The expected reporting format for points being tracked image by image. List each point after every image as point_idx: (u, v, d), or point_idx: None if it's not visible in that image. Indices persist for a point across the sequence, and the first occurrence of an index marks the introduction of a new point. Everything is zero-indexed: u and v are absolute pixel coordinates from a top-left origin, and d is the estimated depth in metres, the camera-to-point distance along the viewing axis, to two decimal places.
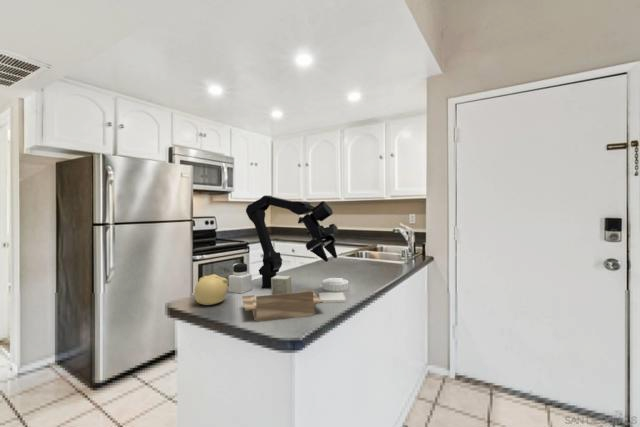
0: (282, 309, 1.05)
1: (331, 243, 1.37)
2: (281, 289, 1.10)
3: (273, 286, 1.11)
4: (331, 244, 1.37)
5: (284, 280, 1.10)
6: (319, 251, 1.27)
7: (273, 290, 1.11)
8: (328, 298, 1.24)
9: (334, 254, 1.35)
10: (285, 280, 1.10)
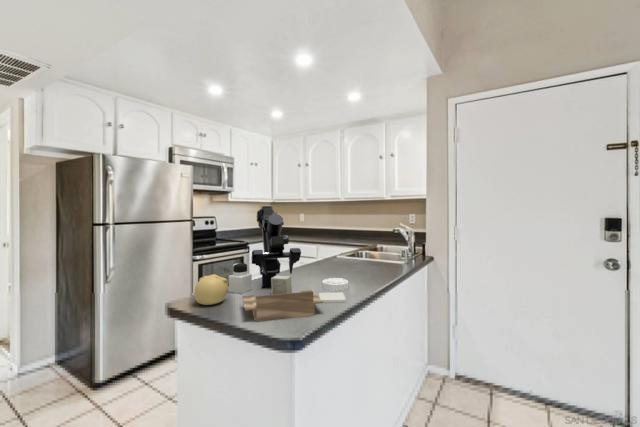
0: (282, 309, 1.05)
1: (290, 257, 1.22)
2: (281, 289, 1.10)
3: (273, 286, 1.11)
4: (290, 258, 1.22)
5: (284, 280, 1.10)
6: (262, 264, 1.19)
7: (273, 290, 1.11)
8: (328, 298, 1.24)
9: (290, 269, 1.20)
10: (285, 280, 1.10)
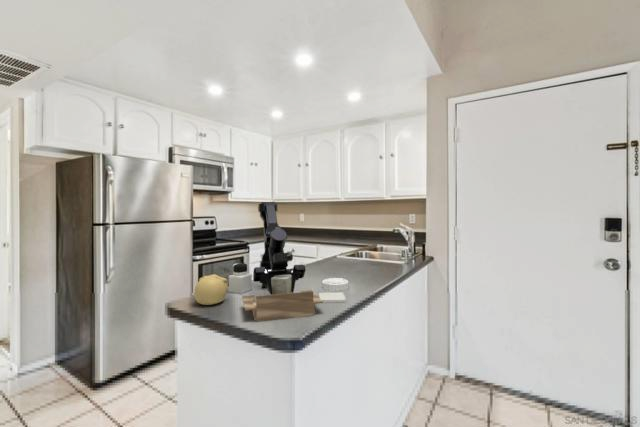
0: (282, 309, 1.05)
1: (292, 275, 1.16)
2: (281, 289, 1.10)
3: (273, 286, 1.11)
4: (292, 276, 1.16)
5: (284, 280, 1.10)
6: (266, 282, 1.13)
7: (273, 290, 1.11)
8: (328, 298, 1.24)
9: None
10: (285, 280, 1.10)
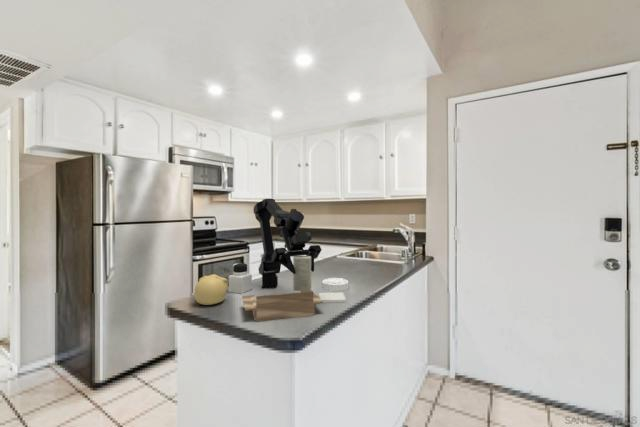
0: (282, 309, 1.05)
1: (309, 255, 1.19)
2: (304, 268, 1.13)
3: (295, 266, 1.14)
4: None
5: (307, 259, 1.13)
6: (287, 263, 1.15)
7: (295, 269, 1.14)
8: (328, 298, 1.24)
9: (311, 267, 1.17)
10: (308, 259, 1.13)
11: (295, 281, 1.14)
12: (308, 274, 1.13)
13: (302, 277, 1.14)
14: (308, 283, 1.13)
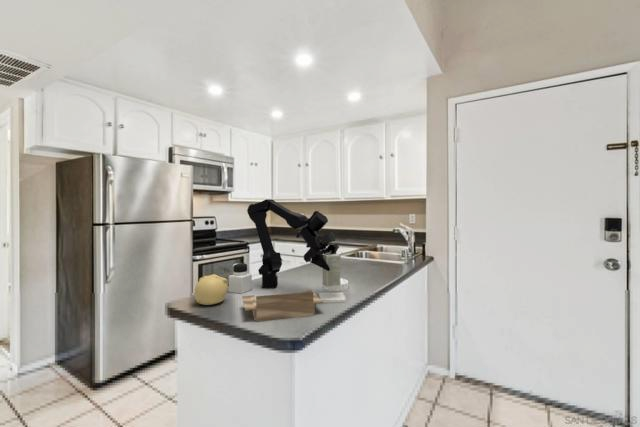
0: (282, 309, 1.05)
1: (332, 253, 1.31)
2: (335, 265, 1.25)
3: (328, 263, 1.24)
4: None
5: (338, 256, 1.25)
6: (319, 261, 1.23)
7: None
8: (328, 298, 1.24)
9: None
10: (339, 256, 1.25)
11: (328, 277, 1.24)
12: (339, 270, 1.25)
13: (334, 273, 1.25)
14: (339, 278, 1.25)
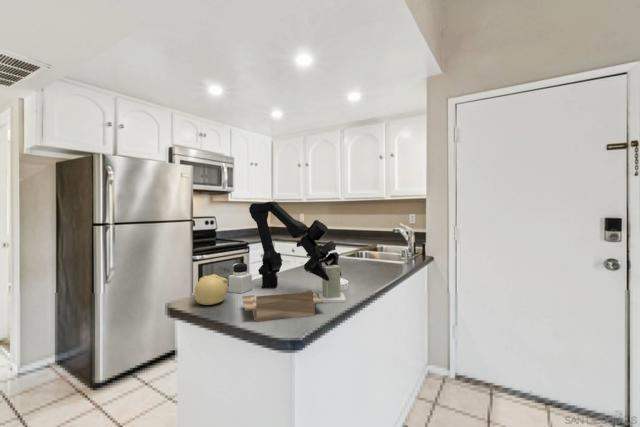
0: (282, 309, 1.05)
1: (333, 261, 1.32)
2: (335, 276, 1.25)
3: (328, 275, 1.24)
4: (334, 262, 1.32)
5: (338, 268, 1.25)
6: (319, 271, 1.23)
7: None
8: (328, 298, 1.24)
9: None
10: (339, 268, 1.25)
11: (328, 289, 1.24)
12: (339, 281, 1.25)
13: (334, 284, 1.25)
14: (339, 289, 1.25)
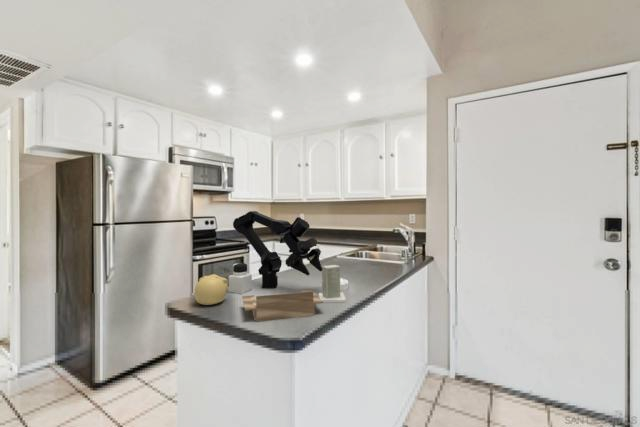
0: (282, 309, 1.05)
1: (315, 257, 1.37)
2: (335, 276, 1.25)
3: (328, 275, 1.24)
4: (315, 258, 1.37)
5: (338, 268, 1.25)
6: (299, 266, 1.28)
7: (328, 278, 1.24)
8: (328, 298, 1.24)
9: (319, 267, 1.35)
10: (339, 268, 1.25)
11: (328, 289, 1.24)
12: (339, 281, 1.25)
13: (334, 284, 1.25)
14: (339, 289, 1.25)
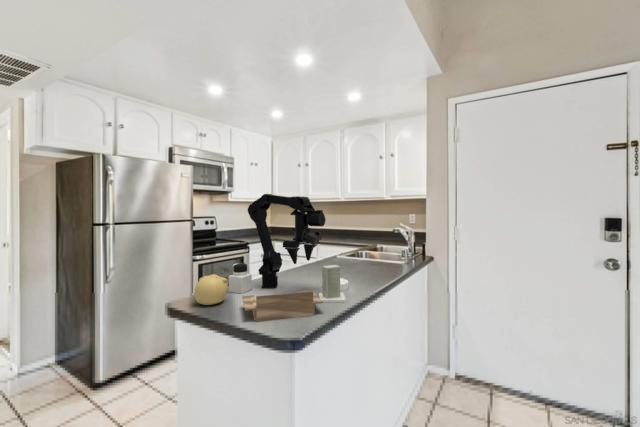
0: (282, 309, 1.05)
1: (310, 246, 1.39)
2: (335, 276, 1.25)
3: (328, 275, 1.24)
4: (310, 247, 1.39)
5: (338, 268, 1.25)
6: (292, 252, 1.31)
7: (328, 278, 1.24)
8: (328, 298, 1.24)
9: (308, 257, 1.39)
10: (339, 268, 1.25)
11: (328, 289, 1.24)
12: (339, 281, 1.25)
13: (334, 284, 1.25)
14: (339, 289, 1.25)
